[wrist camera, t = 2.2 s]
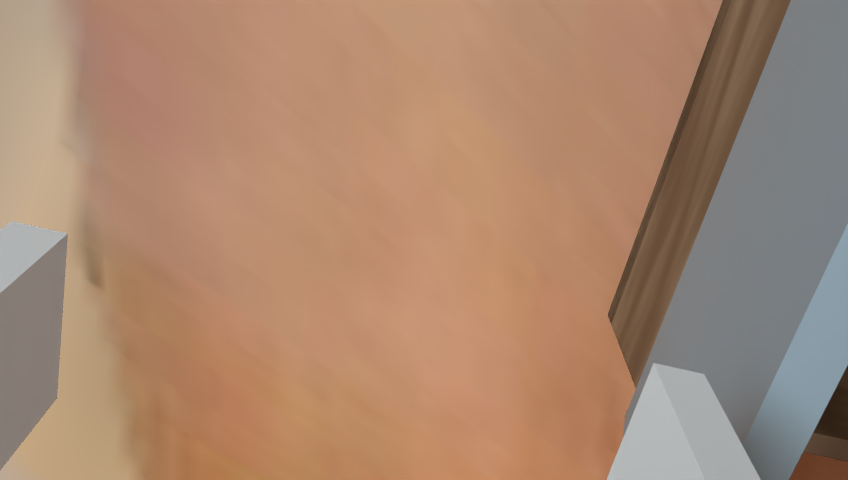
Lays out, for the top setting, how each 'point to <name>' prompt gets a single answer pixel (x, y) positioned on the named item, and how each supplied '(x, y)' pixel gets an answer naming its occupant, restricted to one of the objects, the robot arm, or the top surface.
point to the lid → (774, 251)
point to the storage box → (705, 194)
